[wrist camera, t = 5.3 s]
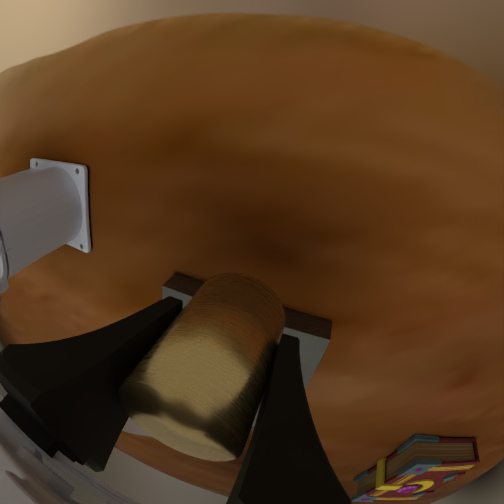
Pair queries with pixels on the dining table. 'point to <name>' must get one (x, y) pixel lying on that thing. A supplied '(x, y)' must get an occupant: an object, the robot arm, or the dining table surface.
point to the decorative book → (417, 469)
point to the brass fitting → (208, 369)
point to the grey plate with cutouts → (296, 324)
